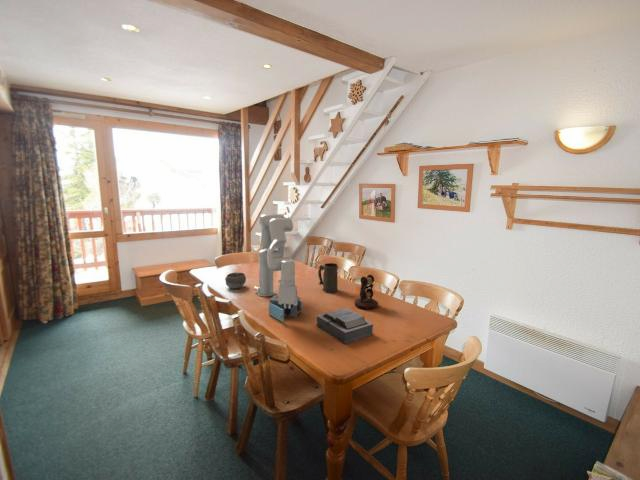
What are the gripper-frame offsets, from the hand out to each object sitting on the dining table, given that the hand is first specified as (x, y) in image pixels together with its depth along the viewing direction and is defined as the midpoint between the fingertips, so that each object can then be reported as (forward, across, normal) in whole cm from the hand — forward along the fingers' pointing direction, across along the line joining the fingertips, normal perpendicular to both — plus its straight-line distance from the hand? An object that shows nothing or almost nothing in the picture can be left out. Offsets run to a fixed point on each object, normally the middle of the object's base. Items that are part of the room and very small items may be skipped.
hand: (287, 314), depth 173 cm
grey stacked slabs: (+6, +31, -3) cm, 32 cm away
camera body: (+4, -4, +13) cm, 14 cm away
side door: (+4, -8, +3) cm, 10 cm away
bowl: (+3, -53, +50) cm, 73 cm away
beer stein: (+4, +13, +60) cm, 61 cm away
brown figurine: (+5, +42, +35) cm, 55 cm away
